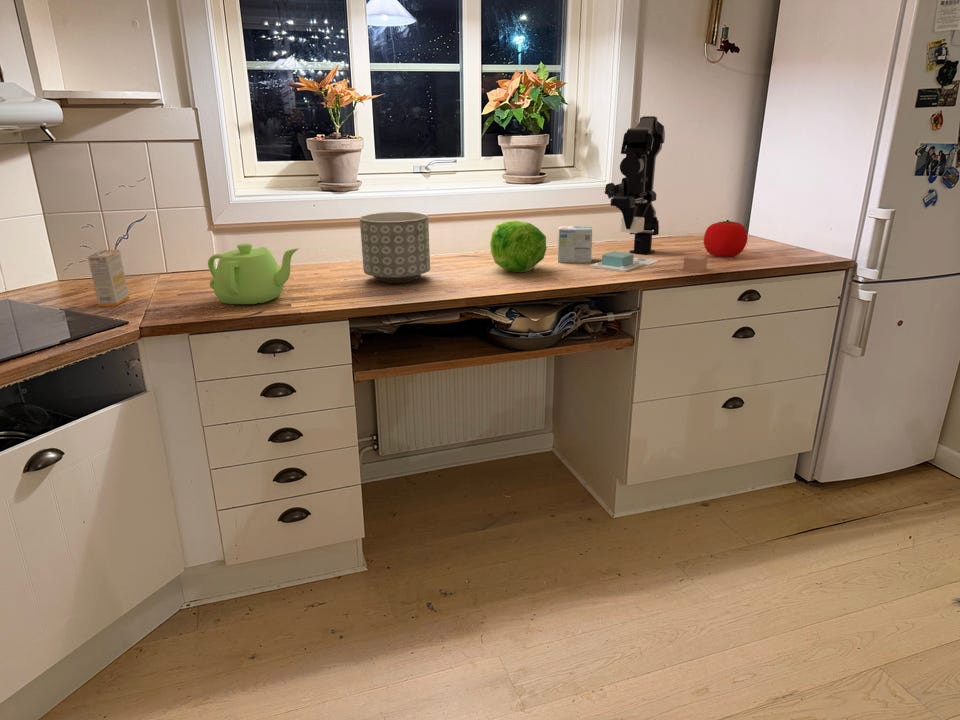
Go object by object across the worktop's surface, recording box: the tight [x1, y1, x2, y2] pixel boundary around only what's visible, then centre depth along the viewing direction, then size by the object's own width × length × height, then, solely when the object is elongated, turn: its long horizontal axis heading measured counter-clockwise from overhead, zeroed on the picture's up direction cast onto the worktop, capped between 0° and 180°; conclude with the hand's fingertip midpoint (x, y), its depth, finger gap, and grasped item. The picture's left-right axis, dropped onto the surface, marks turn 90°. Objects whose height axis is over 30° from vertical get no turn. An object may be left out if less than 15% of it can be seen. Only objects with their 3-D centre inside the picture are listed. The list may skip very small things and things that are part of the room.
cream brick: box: [620, 217, 644, 234], centre depth 204 cm, size 5×5×4 cm
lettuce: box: [490, 220, 548, 273], centre depth 204 cm, size 17×20×15 cm
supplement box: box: [87, 249, 130, 307], centre depth 174 cm, size 8×5×13 cm, turn 5°
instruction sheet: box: [633, 257, 660, 266], centre depth 216 cm, size 7×10×1 cm
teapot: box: [207, 243, 300, 305], centre depth 176 cm, size 19×20×14 cm
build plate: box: [589, 251, 645, 273], centre depth 209 cm, size 12×12×4 cm
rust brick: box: [682, 254, 708, 274], centre depth 202 cm, size 5×5×4 cm
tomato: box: [703, 219, 748, 258], centre depth 220 cm, size 13×14×12 cm
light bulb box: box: [557, 225, 593, 264], centre depth 216 cm, size 11×7×11 cm, turn 84°
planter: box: [359, 211, 431, 284], centre depth 193 cm, size 19×19×18 cm
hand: (632, 227), depth 204 cm, fingers closed on cream brick, 5 cm apart
